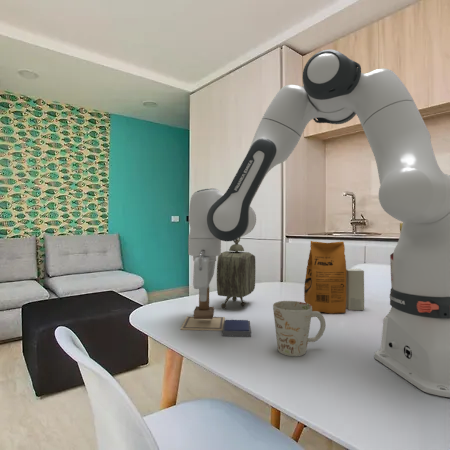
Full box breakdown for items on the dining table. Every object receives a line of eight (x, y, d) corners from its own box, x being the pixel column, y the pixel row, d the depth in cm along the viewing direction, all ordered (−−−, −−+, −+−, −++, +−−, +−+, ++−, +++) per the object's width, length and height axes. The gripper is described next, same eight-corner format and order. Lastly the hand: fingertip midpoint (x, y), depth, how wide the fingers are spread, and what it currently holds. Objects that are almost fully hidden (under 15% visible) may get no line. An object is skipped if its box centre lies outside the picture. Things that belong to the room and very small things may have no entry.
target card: (223, 330, 86) (223, 329, 86) (180, 329, 86) (180, 328, 86) (224, 318, 97) (224, 316, 97) (187, 317, 97) (187, 316, 97)
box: (360, 307, 111) (360, 268, 110) (364, 310, 106) (365, 270, 106) (343, 306, 111) (344, 268, 111) (347, 310, 107) (347, 270, 107)
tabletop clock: (231, 299, 119) (232, 229, 119) (255, 302, 116) (256, 230, 116) (216, 309, 106) (217, 230, 106) (243, 312, 103) (244, 231, 102)
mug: (265, 346, 75) (266, 302, 75) (312, 340, 80) (313, 298, 80) (285, 361, 67) (285, 312, 67) (336, 353, 72) (336, 306, 72)
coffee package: (302, 305, 113) (303, 239, 112) (340, 306, 111) (341, 240, 111) (306, 313, 103) (307, 241, 102) (348, 314, 101) (349, 242, 101)
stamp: (212, 319, 89) (212, 289, 89) (193, 318, 89) (193, 288, 89) (213, 313, 94) (214, 285, 94) (196, 313, 94) (196, 285, 94)
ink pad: (251, 336, 81) (251, 330, 81) (222, 336, 82) (222, 330, 82) (249, 325, 90) (249, 319, 90) (223, 324, 91) (224, 319, 91)
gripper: (213, 252, 81) (212, 309, 81) (218, 245, 101) (218, 291, 101) (187, 252, 81) (186, 308, 81) (197, 245, 101) (197, 290, 102)
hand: (204, 299), depth 92 cm, fingers closed on stamp, 3 cm apart
